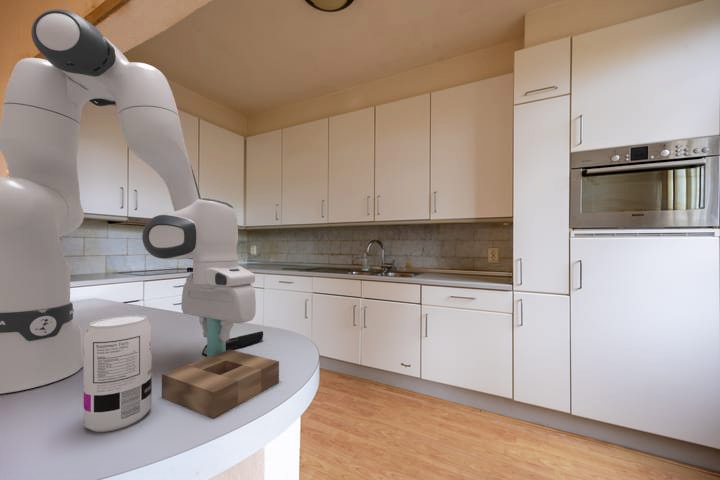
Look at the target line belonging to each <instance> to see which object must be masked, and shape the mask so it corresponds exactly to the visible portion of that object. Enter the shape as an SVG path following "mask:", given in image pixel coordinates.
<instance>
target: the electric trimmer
mask: <svg viewBox="0 0 720 480" xmlns="http://www.w3.org/2000/svg"><path fill="white" fill-rule="evenodd" d="M263 339H264V331H256V332H253V333H249V334H248V333H247V334H244V335H239V336H236V337H232V338H230V339H229V340H227V341H226V351H227V350H233V349H236V348H239V349H240V348H241V349H242V348H244V347H247V346H250V345H252V344H254V343H259V342H260V341H263ZM201 355H202V356H203V357H204V358H207V344H206V345H205V346H204V347H203V349H202V351H201Z"/></svg>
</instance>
